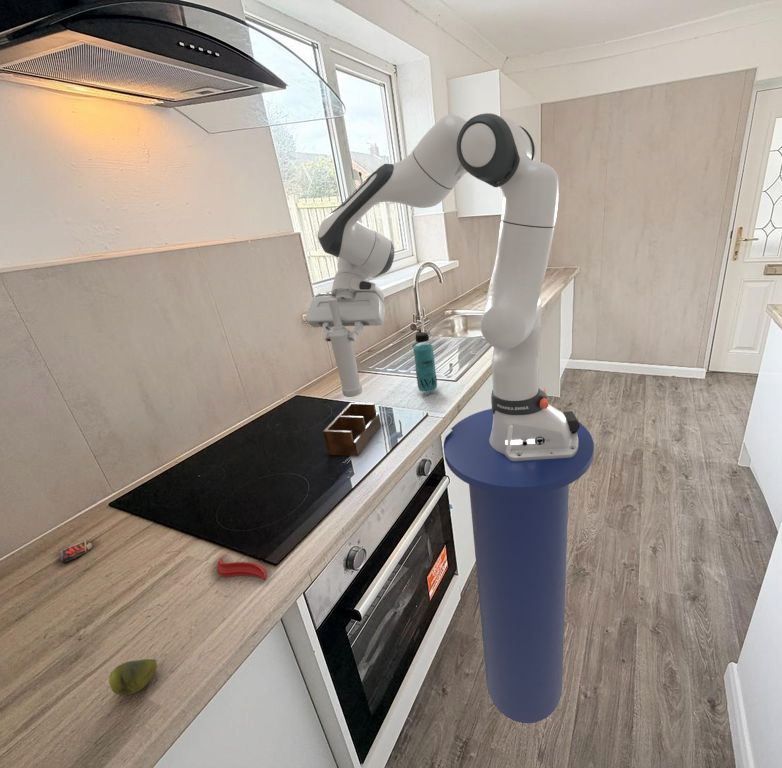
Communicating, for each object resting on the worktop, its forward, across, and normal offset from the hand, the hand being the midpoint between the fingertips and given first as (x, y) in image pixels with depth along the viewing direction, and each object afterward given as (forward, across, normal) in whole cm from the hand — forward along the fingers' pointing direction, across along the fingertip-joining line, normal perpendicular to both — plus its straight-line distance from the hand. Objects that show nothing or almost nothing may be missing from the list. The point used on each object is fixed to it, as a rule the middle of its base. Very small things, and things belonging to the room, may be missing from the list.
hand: (340, 340), depth 102 cm
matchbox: (+52, -39, -14) cm, 66 cm away
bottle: (+10, 0, +11) cm, 15 cm away
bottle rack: (+21, 0, +18) cm, 28 cm away
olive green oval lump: (+66, -3, -27) cm, 71 cm away
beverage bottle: (0, +12, +39) cm, 41 cm away
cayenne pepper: (+52, -3, -13) cm, 54 cm away
